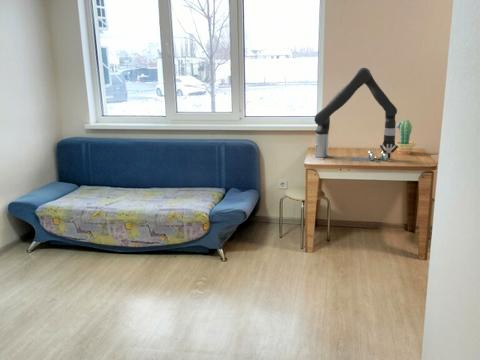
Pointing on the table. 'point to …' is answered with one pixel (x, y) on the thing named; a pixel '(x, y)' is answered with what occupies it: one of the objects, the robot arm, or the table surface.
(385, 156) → the cylinder
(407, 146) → the potted cactus
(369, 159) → the mat
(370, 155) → the cylinder
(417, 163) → the table surface
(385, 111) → the robot arm
